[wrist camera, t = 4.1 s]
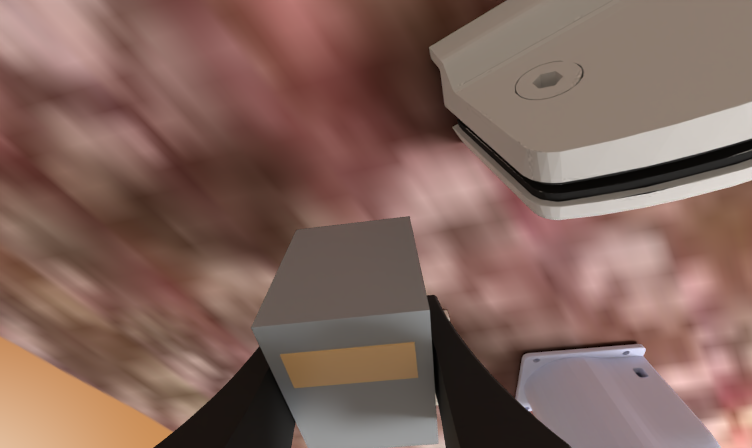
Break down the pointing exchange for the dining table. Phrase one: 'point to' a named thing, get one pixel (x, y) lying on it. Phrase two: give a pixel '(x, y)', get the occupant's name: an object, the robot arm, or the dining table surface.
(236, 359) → the dining table surface
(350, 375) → the module
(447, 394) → the robot arm
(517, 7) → the light grey flat block
